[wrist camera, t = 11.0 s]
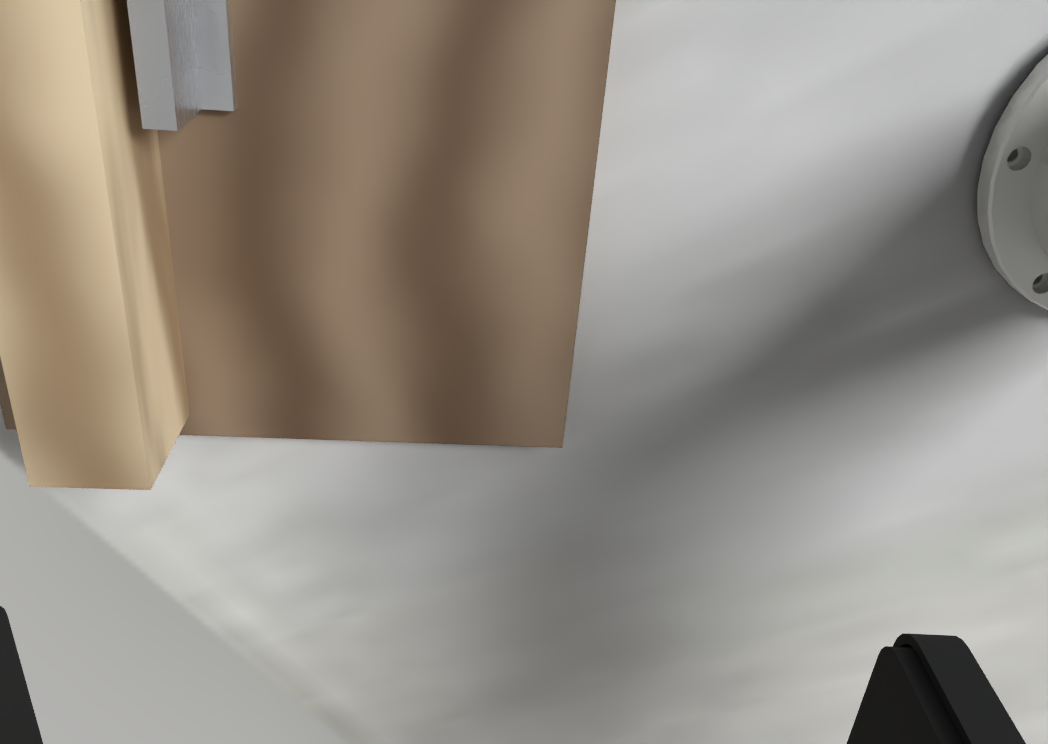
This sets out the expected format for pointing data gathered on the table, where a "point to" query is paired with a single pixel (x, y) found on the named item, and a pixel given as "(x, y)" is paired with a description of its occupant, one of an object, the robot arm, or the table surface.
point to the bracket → (182, 59)
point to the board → (388, 221)
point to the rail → (84, 252)
